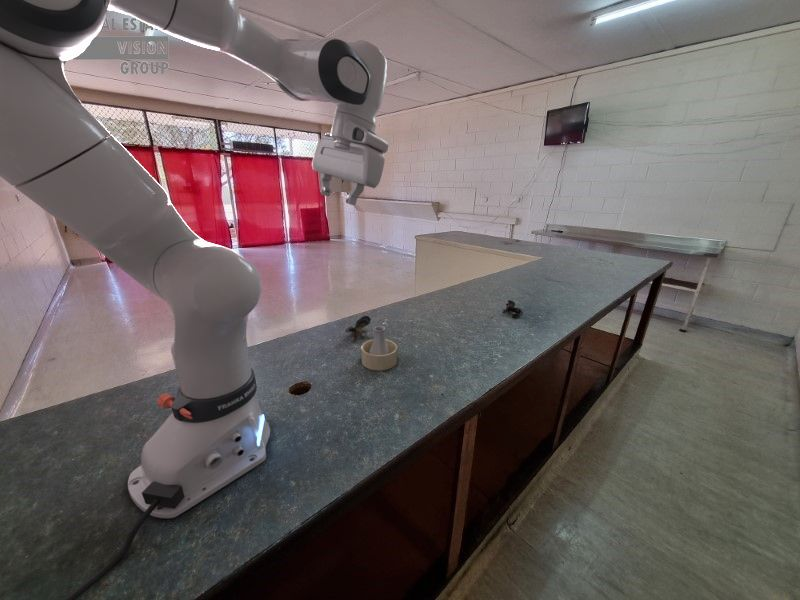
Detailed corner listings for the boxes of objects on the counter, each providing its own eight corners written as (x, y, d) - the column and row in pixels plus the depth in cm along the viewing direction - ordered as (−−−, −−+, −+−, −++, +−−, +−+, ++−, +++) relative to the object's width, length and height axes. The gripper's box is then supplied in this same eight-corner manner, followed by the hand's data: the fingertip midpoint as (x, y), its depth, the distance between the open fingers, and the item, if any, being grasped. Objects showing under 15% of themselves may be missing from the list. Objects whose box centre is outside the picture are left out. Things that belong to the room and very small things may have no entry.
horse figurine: (507, 330, 118) (527, 312, 126) (509, 321, 115) (529, 304, 124) (487, 320, 123) (507, 304, 131) (488, 311, 121) (509, 296, 129)
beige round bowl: (384, 374, 84) (384, 359, 82) (354, 363, 88) (354, 349, 87) (403, 357, 92) (403, 344, 90) (374, 348, 97) (374, 335, 95)
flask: (396, 358, 91) (397, 326, 88) (382, 369, 85) (382, 336, 82) (376, 350, 95) (376, 320, 91) (361, 361, 89) (360, 329, 85)
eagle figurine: (371, 340, 99) (376, 323, 107) (358, 323, 96) (363, 308, 104) (352, 349, 102) (358, 332, 110) (339, 333, 99) (345, 317, 107)
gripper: (312, 125, 71) (300, 187, 75) (373, 134, 60) (355, 207, 64) (334, 135, 76) (322, 193, 80) (394, 145, 65) (376, 212, 69)
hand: (337, 199), depth 72 cm, fingers open, 8 cm apart
